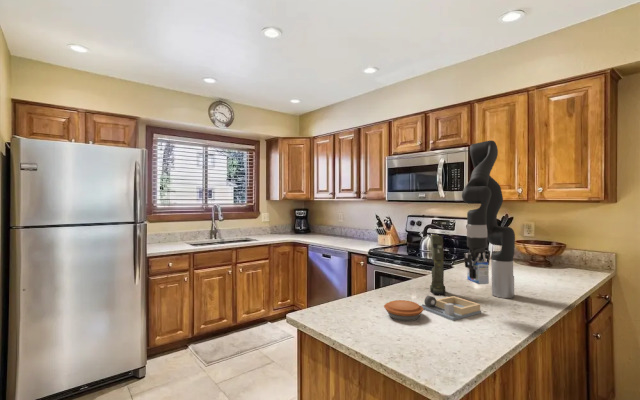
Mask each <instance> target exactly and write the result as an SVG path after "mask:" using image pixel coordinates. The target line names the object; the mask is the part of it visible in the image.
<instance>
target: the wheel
mask: <svg viewBox="0 0 640 400" xmlns="http://www.w3.org/2000/svg"><path fill="white" fill-rule="evenodd" d="M436 300H437V298H435V296H432V295H426V296H425V298H424V301H423V302H424V305H426V306H429V307H434V306H435V305H436Z"/></svg>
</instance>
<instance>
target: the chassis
mask: <svg viewBox="0 0 640 400" xmlns="http://www.w3.org/2000/svg"><path fill="white" fill-rule="evenodd" d="M420 306H422V307H423V309H424V310H423V311H427V312H429V313H432V314H434V315H436V316H440V317H442V318H445V319H447V320H450V321H452V322H453V321H456V320H459V319H464V318H467V317H472V316H474V315H479V314H481V313H482V310H481V304H480V303H477V302H473V301H471V300H467V299H464V298H461V297H458V296H455V295H452V296H448V297H443V298H438V299H437V298H436V305H435V306H434V307H429V306H426V305H425V303H422V305H420Z"/></svg>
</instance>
